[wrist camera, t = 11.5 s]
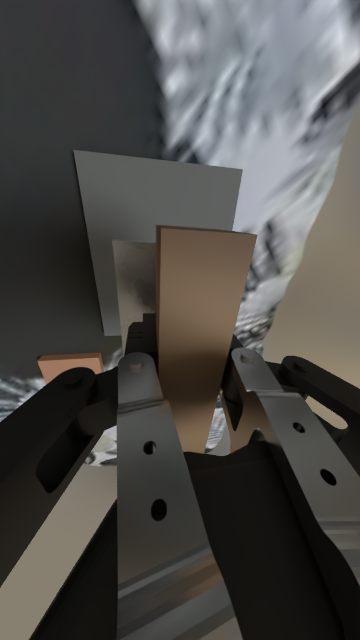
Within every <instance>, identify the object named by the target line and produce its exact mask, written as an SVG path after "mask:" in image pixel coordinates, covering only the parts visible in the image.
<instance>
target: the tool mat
mask: <svg viewBox="0 0 360 640" xmlns="http://www.w3.org/2000/svg"><path fill="white" fill-rule="evenodd" d="M74 156H75V162H76V168H77V174H78V180H79V185H80V191H81V197H82V203H83V209H84V215H85V221H86V227H87V233H88V239H89V245H90V251H91V257H92V263H93V269H94V275H95V281H96V287H97V292H98V298H99V304H100V310H101V316H102V322H103V328H104V334H105V336H114V335H122V334H121V324H120V314H119V304H118V294H117V283H116V273H115V263H114V253H113V243H112V240H114V239H116V240H134V241H151V242H156V225H169V226H183V227H197V228H210V229H222V230H228V231H232V228H233V223H234V217H235V211H236V205H237V199H238V194H239V188H240V182H241V176H242V170H243V169H234V168H226V167H217V166H208V165H200V164H191V163H182V162H174V161H165V160H157V159H148V158H139V157H131V156H122V155H113V154H105V153H96V152H88V151H79V150H74Z"/></svg>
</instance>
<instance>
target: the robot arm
mask: <svg viewBox="0 0 360 640" xmlns="http://www.w3.org/2000/svg"><path fill="white" fill-rule="evenodd" d="M221 388H222V392H221V402H222V406H223V410H224V414H225V418H226V422H227V425H228V429H229V433H230V438H231V447H230V448H231V449H230V451H231V453H230V454H229V455H226V456H216V455H210V454H203V453H196V452H190V451H187V452H183V450H182V446H181V443H180V439H179V436H178V432H177V429H176V425H175V422H174V419H173V415H172V412H171V408H170V405H169V402H168V400H167V398H165V399H164V398H163V394H162V391H161V387H160V383H159V379H158V347H157V335H156V324H155V313H143V322H133V323H132V324H131V325H130V326H129V328H128V334H127V340H126V347H125V353H124V357H122V358H121V359H120V361H119V362H118V366H116V367H115V368H113V369H111V370H109V371H106V372H102V373H99V374H95V372H94V371H93V370H92V369H90V368H87V367H75V368H71V369H68V370H66V371H64V372H62V373H60V374H59V375H58V376H56V377H55V378H54V379H53V380H51V381H50V382H49V383H48V384H47V385H45V386H44V387H43V388H42V389H40V390H39V391H38V392H37V393H36V394H34V395H33V396H32V397H31V398H29V399H28V400H27V401H26V402H24V403H23V404H22V405H21V406H20V407H18V408H17V409H16V410H15V411H13V412H12V413H11V414H10V415H9V416H7V417H6V418H5V419H4V420H2V421H1V422H0V587H1V585H2V584H3V582H4V581H5V580H6V578H7V576H8V575H9V573H10V572H11V571H12V569H13V567H14V566H15V565H16V563H17V562H18V560H19V559H20V557H21V556H22V554H23V552H24V551H25V549H26V548H27V547H28V545H29V544H30V542H31V540H32V539H33V538H34V536H35V534H36V533H37V531H38V530H39V529H40V527H41V526H42V524H43V523H44V521H45V520H46V518H47V516H48V515H49V513H50V512H51V511H52V509H53V507H54V506H55V505H56V503H57V502H58V500H59V499H60V497H61V496H62V494H63V492H64V491H65V490H66V488H67V486H68V485H69V484H70V482H71V481H72V479H73V477H74V476H75V475H76V473H77V471H78V470H79V469H80V467H81V466H82V464H83V463H84V461H85V460H86V458H87V457H88V455H89V454H90V452H91V451H92V449H93V448H94V446H95V445H96V443H97V442H98V440H99V439H100V437H101V436H102V434H103V432H104V430H106V429H109V428H111V427H113V426H116V425H117V499H116V500H115V502H114V503H113V505H112V506H111V508H110V509H109V511H108V512H107V514H106V516H105V517H104V519H103V521H102V522H101V524H100V526H99V527H98V529H97V530H96V532H95V534H94V535H93V537H92V538H91V540H90V542H89V543H88V545H87V546H86V548H85V550H84V551H83V553H82V555H81V556H80V558H79V559H78V561H77V563H76V564H75V566H74V567H73V569H72V571H71V572H70V574H69V576H68V577H67V579H66V580H65V582H64V584H63V585H62V587H61V588H60V590H59V592H58V593H57V595H56V597H55V598H54V600H53V602H52V603H51V605H50V606H49V608H48V610H47V611H46V613H45V615H44V616H43V618H42V620H41V621H40V623H39V624H38V626H37V628H36V629H35V631H34V632H33V634H32V635H31V637H30V639H29V640H360V389H359V388H357V387H355V386H353V385H352V384H350V383H348V382H346V381H344V380H342V379H341V378H339V377H337V376H335V375H333V374H331V373H330V372H328V371H326V370H324V369H322V368H320V367H319V366H317V365H315V364H313V363H311V362H309V361H308V360H306V359H303V358H301V357H297V356H286V357H285V358H284V359H283V361H282V363H281V364H278V363H271V362H266V361H264V359H263V357H262V356H261V355H260V354H259V353H257V352H256V351H254V350H251V349H248V348H244V347H243V345H242V344H241V343H240V341H239V340H238V339H237V337H236V336H235V335H234V333H233V337H232V341H231V345H230V349H229V353H228V357H227V361H226V365H225V369H224V374H223V378H222V382H221ZM308 395H309V396H310V397H312V398H313V399H315V400H316V401H318V402H319V403H321V404H322V405H324V406H325V407H327V408H328V409H330V410H331V411H333V412H334V413H336V414H337V415H339V416H340V417H342V418H343V419H344V420H345V421H346V422H347V424H348V427H347V428H346V429H338V428H335V427H334V426H332V425H331V424H329V423H328V422H326V421H325V420H324V419H322V418H321V417H320V416H318V415H317V414H315V413H314V412H313V411H312V410H311V409H310V407H309V406H308V404H307V403H306V402H305V400H306V398H307V397H308Z"/></svg>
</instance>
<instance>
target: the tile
mask: <svg viewBox="0 0 360 640" xmlns="http://www.w3.org/2000/svg"><path fill="white" fill-rule="evenodd" d="M37 362H38V364H39V367H40V369H41V371H42V374H43V376H44V379H45V381H46V384H48V383H49V382H50V381H51V380H53V379H54V378H55V377H56V376H58V375H59V374H60V373H62V372H64V371H66V370H68V369H71V368H75V367H87V368H90V369H92V370H93V371H94V372H95V374H99V373H102V372H104V369H103V364H102V358H101V353H83V354H64V355H45V356H41V357H40V358H39V360H38V361H37Z"/></svg>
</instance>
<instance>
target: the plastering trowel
mask: <svg viewBox="0 0 360 640" xmlns="http://www.w3.org/2000/svg"><path fill="white" fill-rule="evenodd" d="M256 239H257V235H255V234H248V233H242V232H235V231H228V230H222V229H210V228H197V227H183V226H169V225H156V242H151V241H134V240H116V239H114V240H112V243H113V253H114V263H115V273H116V283H117V294H118V304H119V314H120V324H121V334H122V345H123V355H124V353H125V347H126V340H127V334H128V328H129V326H130V325H131V324H132V323H133V322H143V313H155V324H156V335H157V347H158V379H159V383H160V387H161V391H162V394H163V398H164V399H165V398H167V400H168V402H169V405H170V408H171V412H172V415H173V419H174V422H175V425H176V429H177V432H178V436H179V439H180V443H181V446H182V450H183V452H187V451H190V452H196V453H203V454H204V451H205V447H206V443H207V439H208V435H209V431H210V427H211V423H212V419H213V414H214V410H215V406H216V402H217V398H218V394H219V390H220V386H221V382H222V378H223V374H224V369H225V365H226V361H227V357H228V353H229V349H230V345H231V341H232V337H233V333H234V329H235V324H236V320H237V316H238V312H239V308H240V304H241V300H242V296H243V292H244V288H245V284H246V279H247V275H248V271H249V267H250V263H251V259H252V255H253V251H254V247H255V243H256Z"/></svg>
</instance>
